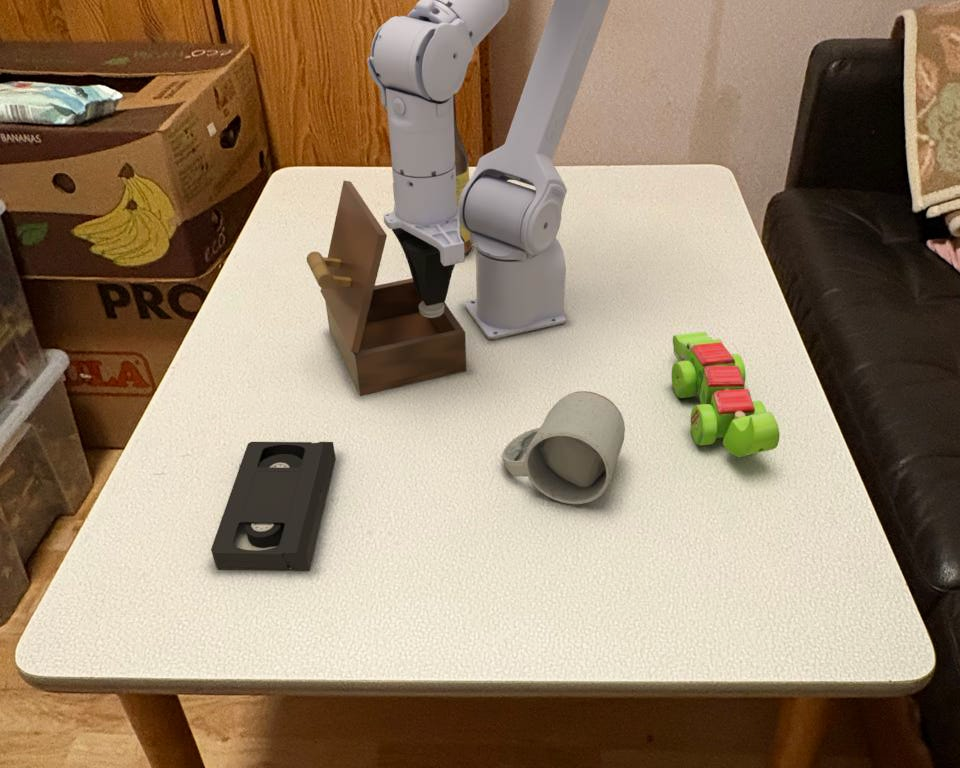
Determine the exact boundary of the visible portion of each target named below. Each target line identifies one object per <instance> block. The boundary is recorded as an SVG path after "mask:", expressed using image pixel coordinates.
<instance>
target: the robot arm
mask: <svg viewBox="0 0 960 768" xmlns="http://www.w3.org/2000/svg"><path fill="white" fill-rule="evenodd" d="M610 3H611V0H554V1H553V4H552V7H551V8H550V11H549V15H548V17H547V21H546V24H545V25H544V29H543V31H542V35H541V37H540V41H539V44H538V47H537V50H536V52H535V55H534V58H533V61H532V64H531V67H530V70H529V72H528V75H527V78H526V80H525V84H524V87H523V89H522V93H521V95H520V99H519V101H518V104H517V107H516V109H515V110H516V111H515V112H514V116H513V117H512V118H513V119H512V121H511V124H510V126H509V130H508V133H507V136H506V139H505V142H504V144H502V145H501V146H499V147H497V148H495V149H494V150H492V151H489V152H487V153H486V154H484V155H483V156H481V157H479V159H478V162H477V164H476V167H475V170H474V172H473V174H472V176H471V177H470V178H469V181H468V183H467V184H466V185H465V187H464V189H463V191H462V193H461V196H460V199H459V205H458V206H457V198H456V167H455V141H454V115H455V110H454V111H453V95H454V94H455V95H456V94H457V93H459V91H460V89H461V88H462V85H463V83H464V80H465V78H466V74H467V70H468V67H469V64H470V63H471V62H472V61H473V56H474V55H475V49H476V48H477V47H478V46H479V44H481V42H482V41H483V40H484V39H485V38H486V36H488V34H490V32H491V31H492V30H493V29H494V27H495V26H496V25H497V24H498V23H499V22H500V21H501V20H502V19H503V18H504V16H505V15H506V14H507V12H508V9H509V5H510V0H419V1H417V2H416V4H415V6H414V7H413V8H412V10H410V11H409V13H407V15H406V16H404V15H398V16H397V15H395V16H393V17H391V18H389V19H388V20H387V21H386V22H384V23H383V24H382V25H381V26H380V27H378V29H377V31H376V32H375V34H374V36H373V39H372V42H371V48H370V57H368V58H367V60H366V63H367V69H368V72H369V74H370V77H371V78H372V80H373V82H374V84H375V85H376V86H377V87H378V89H379V93H380V100H381V102H380V103H381V105H382V106H383V107H384V109H385V110H386V111H387V123H388V135H389V146H390V147H389V149H390V160H391V172H392V191H393V201H394V203H393V205H394V206H393V211H391V212H386V213H384V214H383V223H384V224H385V226H386V227H387V228H388V229H389V230H391V231H392V233H393V234H394V236H395V238H396V239H397V240H398V243H399V245H400V246H401V249H402V251H403V253H404V256H405V258H406V261H407V264H408V265H407V266H408V267H409V271H410V275H411V278H413V282H414V285H415V288H416V290H417V293H418V294H419V296H422V299H423V301H424V303H425V305H426V306H429V305H434V304H438V303H443V302H445V303H446V300H447V296H448V293H449V288H450V284H451V278H452V274H453V271H454V269H455V266H456V265H457V264H462V263H465V261H466V260H465V254H464V247H465V240H464V239H463V238H462V236H461V235H460V223H461V225H462V227H463V228H464V229H465V230H467V231H469V232H470V242H472V244H473V245H474V246H475V283H476V284H475V285H476V287H475V288H476V289H475V290H476V299H471V300H466V301H465V302H464V308H465V309H466V310H467V312H468V313H469V315H470V316H471V317H472V319H473V320H474V322H475V323H476V324H477V326H478V327H479V329H480V330H481V332H482V333H483V334H484V336H485V337H486V338H487V339H488V340H494V339H499V338H504V337H508V336H513V335H517V334H522V333H526V332H530V331H535V330H540V329H544V328H549V327H553V326H558V325H561V324H565V323H567V318H566V316H565V315H564V311H565V310H564V307H565V294H566V293H565V291H566V274H567V273H566V271H567V269H566V259H565V254H564V251H563V247H562V245H561V243H560V241H559V240H558V239H557V236H558V233H559V231H560V227H561V222H562V212H563V211H562V210H563V205H564V202H565V198H566V195H567V192H568V188H567V186H566V184H565V182H564V181H563V179H562V177H561V175H560V173H559V172H558V170H557V168H556V166H555V165H554V163H553V161H554V158H555V155H556V152H557V150H558V147H559V144H560V141H561V139H562V136H563V133H564V130H565V128H566V125H567V122H568V119H569V117H570V114H571V111H572V108H573V105H574V103H575V100H576V97H577V95H578V92H579V89H580V86H581V84H582V80H583V77H584V75H585V72H586V70H587V66H588V64H589V61H590V59H591V56H592V53H593V50H594V48H595V45H596V42H597V39H598V36H599V34H600V31H601V29H602V26H603V22H604V20H605V17H606V14H607V11H608V8H609V6H610ZM512 181H516V182H519V183H522V184H526V185H527V186H532V187H534V188H535V189H533V188H531V187H526V186H524V185H521V184H518V183H515V182H512ZM459 220H460V223H459Z"/></svg>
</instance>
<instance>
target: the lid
mask: <svg viewBox="0 0 960 768" xmlns="http://www.w3.org/2000/svg"><path fill="white" fill-rule="evenodd" d="M387 237H388V235H387V233H386V232H385V230H384V229H383V227H382V225H380V222H379V221H378V220H377V218H376V217H375V215H374V214H373V212H372V211H371V209H370V208H369V206H368V205H367V203H366V202H365V201H364V199H363V197H362V195H361V194H360V193H359V191H358V190H357V188H356V187H355V185H354V184H353V183H352V181H348V180H343V181H342V186H341V191H340V196H339V201H338V205H337V210H336V215H335V220H334V224H333V230H332V234H331V240H330V245H329V248H328V249H329V250H328V252H327V257H325V256H323V255H322V254H321V253H320V252H319V251H312V252H309V253H308V255H307V256H306V263H307V265H308V267H309V270H310V271H311V273H312V275H313V277H314V279H315V281H316V283H317V285H318V287H319V288H320V293H321V295H322V298H323V299H324V301H326V303H327V305H328V307H329V309H330V311H331V313H332V315H333V317H334V319H335V321H336V323H337V325H338V327H339V329H340V331H341V333H342V335H343V337H344V339H345V341H346V343H347V345H348V347H349V349H350V351H351V352H355V353H358V352H359V348H360V344H361V340H362V336H363V332H364V328H365V324H366V319H367V315H368V311H369V307H370V303H371V299H372V295H373V291H374V287H375V286H376V282H377V279H378V274H379V270H380V266H381V261H382V257H383V254H384V249H385V246H386V241H387ZM326 303H325V304H326Z"/></svg>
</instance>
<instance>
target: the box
mask: <svg viewBox="0 0 960 768" xmlns="http://www.w3.org/2000/svg"><path fill="white" fill-rule="evenodd" d="M324 301H325V300H324ZM422 301H423V299H422V296H419V294H418V293H417V290H416V288H415V285H414V282H413V278H412V277H411V278H407V279H402V280H397V281H391V282H387V283H381V284H377V285H376V284H375V287H374V291H373V295H372V299H371V303H370V307H369V311H368V315H367V319H366V324H365V328H364V332H363V336H362V340H361V344H360V348H359V352H358V353H355V352H351V351H350V349H349V347H348V345H347V343H346V341H345V339H344V337H343V335H342V333H341V331H340V329H339V327H338V325H337V323H336V321H335V319H334V317H333V315H332V313H331V311H330V309H329V307H328V305H327V303H326V301H325V302H324V303H325V309H326V315H327V316H326V317H327V323H328V331H329V335H330V337H331V338H332V340H333V343H334V345H335V347H336V349H337V351H338V353H339V355H340V357H341V359H342V361H343V363H344V366H345V367H346V370H347V372H348V373H349V376H350V378H351V380H352V382H353V384H354V386H355V388H356V390H357V392H358V394H359V396H365V395H369V394H374V393H378V392H381V391H387V390H390V389H394V388H400V387H404V386H408V385H413V384H416V383H420V382H426V381H429V380H433V379H437V378H443V377H446V376H451V375H456V374H460V373H463V372H466V371H467V348H466V347H467V345H466V331H465V329H464V328H463V327H462V325H461V324H460V322H459V321H458V320H457V318H456V317H455V315H454V313H453V312H452V311H451V309H450V308H449V307H448V305H447V304H446V301H445V302H443V303H444V306H445V307H444V313H443V314H442V315H441V316H439V317H435V318H427V317H424V316H422V315H421V314H420V312H419V304H420V303H421V302H422Z"/></svg>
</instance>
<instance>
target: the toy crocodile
mask: <svg viewBox="0 0 960 768" xmlns="http://www.w3.org/2000/svg"><path fill="white" fill-rule="evenodd" d="M672 346H673V354H674V355H673V356H675V358H676V359H677V361H675V362H674V363H673V365H672V367H671V384H672V388H673V389H672V390H673V392H674V393H675V395H676V397H678V398H679V399H684V398H692V397H694V396H695V395H696V393H697V394H698V398H699V402H700V404H695V405H694V406H693V407H692V409H691V413H690V432H691V436H692V440H693V442H694V444H696V445H698V446H710V445H713V444H714V443H715V442H716V440H717V439H719V438H723V440H722V445H723V447H725V449H726V450H727V451H728V452H729V453H730V454H731V455H733V456H735V457H738V458H742V457H747V456H750V455H754V454H758V453H762V452H767V451H770V450H775V449H776V448H777V447H778V445H779V442H780V435H781V433H780V428H779V425H778V422H777V419H776V418H775V416H774V414H773V413H772V412H771V411H767V407H766V406H765V405H764V402H762V401H761V400H753V399H752V395H751V393H750V390H749V388H745V387H746V386H745V384H746V366H745V361H744V360H743V358H742V356H741V355H740V354H739V353H731V352H730V351H729V350H728V348H727V347H726V346H725V344H724V343H723V341H722V339H720V338H715V339H714V338H711V336H709V334H708V333H707V331H699V332H689V333H682V334H680V333H679V334H674V335H673V336H672Z"/></svg>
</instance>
